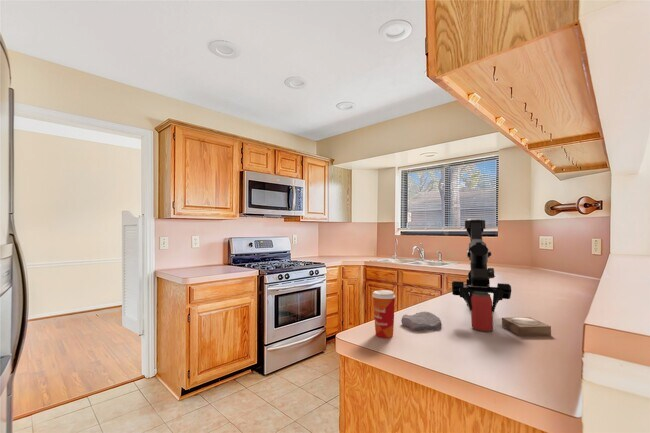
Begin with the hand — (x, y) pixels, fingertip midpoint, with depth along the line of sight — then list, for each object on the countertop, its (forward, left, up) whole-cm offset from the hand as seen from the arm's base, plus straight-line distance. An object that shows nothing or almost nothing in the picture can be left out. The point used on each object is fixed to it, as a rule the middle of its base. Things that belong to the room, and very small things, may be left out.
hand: (481, 310), depth 106 cm
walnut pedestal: (-12, +7, -7) cm, 15 cm away
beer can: (-1, -1, -7) cm, 7 cm away
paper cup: (+32, -12, -7) cm, 35 cm away
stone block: (+15, -13, -7) cm, 21 cm away
